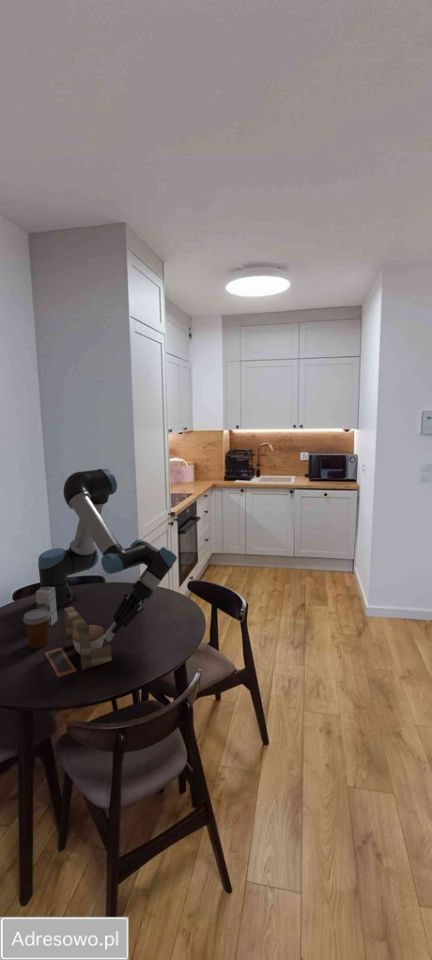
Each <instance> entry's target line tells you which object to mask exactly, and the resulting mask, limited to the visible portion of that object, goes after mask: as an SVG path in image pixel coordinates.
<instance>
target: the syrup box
mask: <svg viewBox="0 0 432 960" xmlns="http://www.w3.org/2000/svg"><path fill="white" fill-rule="evenodd" d="M35 600H36V609H47V610H49V613H50V614H51V616H50V618H49V627H50V626H51V627H52V626H54V625H55V623H56V622H57V621H58V610H57V608H56V595H55V587H41V588H38V589H37V590H36V591H35Z"/></svg>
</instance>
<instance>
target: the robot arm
mask: <svg viewBox="0 0 432 960" xmlns="http://www.w3.org/2000/svg"><path fill="white" fill-rule="evenodd" d="M117 489H118V482H117V479H116V476H115V474H114V473H113V472H112V470H110V469H108V468H98V469H92V470H84V471H77V472H73V473H72V474H70V475H69V476H67V479H66V480H65V482H64V485H63V491H62V492H63V498H64V502H65V503H66V504H67V506H68V508H69V509H71V510H73V511H74V512H75V514H76V515H77V517H78V524H77V527H76V533H75V536H74V539H73V540H72V541H71V542H70V543H69V547H68V548H67V549H64V548H61V547H56V548H51V549H48V550H46V551H44V552H43V551H42V553H41V554H39V556H38V560H37V561H38V562H37V563H38V564H37V566H38V572H39V585H40V586H39V587H40V588H41V587H55V595H56V609H57V608H61V607H64V606H66V605H68V604H70V603H72V602H73V599H74V597H73V596H74V595H73V592H72V590H71V587H70V585H69V583H68V577H69V576H72V575H75V574H78V573H82V572H84V571H89V570H90V569H93V568H94V567H96V565H97V563H98V562H99V554H98V553H99V552H100V553H101V555H102V557H101V560H100V561H101V566H102V569H103V571H104V572H105V573H106V574H109V575H112V574H117V573H121V572H122V571H125V570H128V569H130V568H131V569H132V568H134V567H137V566H140V565H145V566H146V568H145V569H144V571H143V572H142V574H141V575H140V576H139V577H138V578H139V580H136V581H135V583H133V586H132V589H133V590H132V591H131V592H130V593H129V594H128V593H125V594H124V596H123V598H122V601H121V603H120V604H119V606H118V608H116V611H115V612H114V615H113V622H112V623H111V625H110V626H109V628H108V629H107V630H106V632H105V633H104V640H106V641H107V642H109V643H111V641H112V640H113V638H114V637H115V635H116V634H117V633H118V632H119V630H120V629H121V628H122V627H124V628H126V627H127V626H128V625H129V624H130V623H131V622H132V621H133V620H134V618H136V617H137V615H138V614H139V613H140V612H142V611H143V610H144V607H143V603H144V602H145V600H149V599H150V597H151V596H152V595H153V593H154V591H155V590H156V589H157V588H158V586H159V585H160V584H161V582H162V581H163V579H164V578H165V576H166V575H167V574H168V573H169V571H170V570H171V569H172V567H173V566H174V565H175V563H176V561H177V559H178V557H177V555H176V554H175V553H174V552H173V551H171V550H170V549H168V548H167V547H166V546H163V547H161V548H160V549H158V548H156V547H155V546H153V545H152V544H150V543H149V542H147V541H145V540H143V539H136V540H135V541H133V542H132V543H131V545H130V546H129V547H126V548H123V546H122V545H121V544H120V542H119V540H118V539H117V537H116V536H115V535H114V534H115V533H113V532H112V530H111V528H110V527H109V525H108V524H107V522H106V520H105V519H104V518H103V515H101V514H102V511H103V506H104V505H105V504H107V503H108V501H109V497H110V495H113V494H116V492H117ZM96 546H97V547H96ZM98 550H99V551H98ZM40 588H39V589H40ZM153 590H154V591H153Z"/></svg>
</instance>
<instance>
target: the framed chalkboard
mask: <svg viewBox="0 0 432 960" xmlns="http://www.w3.org/2000/svg"><path fill="white" fill-rule="evenodd" d="M44 655H45V657H46V659H47V660H48V662H49V664H50V666H51V667H52V670H53V671H54V674H55V675H56V677H57V678H60V677H63V676H67V675H70V674H72V673H75V672H77V669H76V668H75V666H74V663H72V661H71V660H70V658H69V657H68V655H67V654H66V652H65V650H64V649H63V648H62V647H58V648H56V649H53V650H49V651H46V652H44Z"/></svg>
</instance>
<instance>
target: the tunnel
mask: <svg viewBox="0 0 432 960" xmlns="http://www.w3.org/2000/svg"><path fill="white" fill-rule="evenodd" d="M63 612H64V613H63V615H64V626H65V627H64V628H65V641H66V647H67V648H72V647H74V644H73V637H72V634H73V632H74V631H75V630H76V631H77V632H78V633H79V639H80V653H81V654H80V664H81V670H82V671H84V670H87V669H89V668H93V667H96V666H99V665H101V664H105V663H108V662H111V661H113V658H112V655H113V654H112V646H111V645H110V644H108V645H105V646H102V647H101V648H98V649H95V650H92V651H91V648H90V633H89V626H88V625H89V624H87V621H85V620H84V619H83V617H82V616H81V615H80V614H79V613H78V612H77V610H76V609H75V608H74V607H73V606H70V607H66V608H65V607H64V608H63Z"/></svg>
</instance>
